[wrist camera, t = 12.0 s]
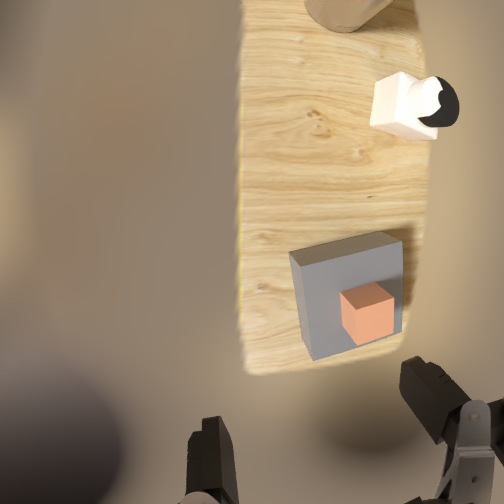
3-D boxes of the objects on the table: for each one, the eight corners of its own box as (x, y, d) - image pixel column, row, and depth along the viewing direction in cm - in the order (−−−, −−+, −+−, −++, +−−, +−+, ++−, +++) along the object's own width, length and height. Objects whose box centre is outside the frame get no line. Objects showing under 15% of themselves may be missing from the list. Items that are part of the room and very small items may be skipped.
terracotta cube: (339, 292, 36) (356, 309, 32) (374, 282, 37) (394, 297, 32) (342, 325, 38) (357, 345, 33) (375, 315, 38) (393, 333, 33)
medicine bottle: (414, 98, 36) (467, 87, 25) (408, 141, 38) (463, 140, 27) (374, 81, 35) (424, 60, 24) (368, 125, 37) (419, 117, 25)
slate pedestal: (288, 252, 41) (300, 266, 35) (380, 230, 41) (402, 241, 36) (302, 338, 45) (313, 361, 39) (383, 314, 45) (401, 331, 40)
